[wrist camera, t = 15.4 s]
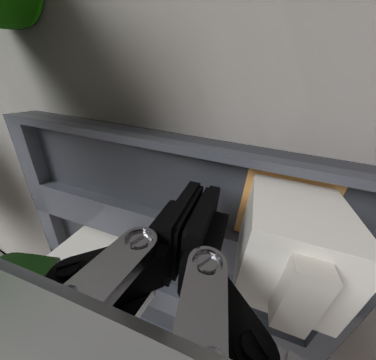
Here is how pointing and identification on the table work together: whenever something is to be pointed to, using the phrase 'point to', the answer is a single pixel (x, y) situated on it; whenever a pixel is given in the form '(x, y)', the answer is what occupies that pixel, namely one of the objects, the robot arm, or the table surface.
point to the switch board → (167, 191)
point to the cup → (19, 13)
